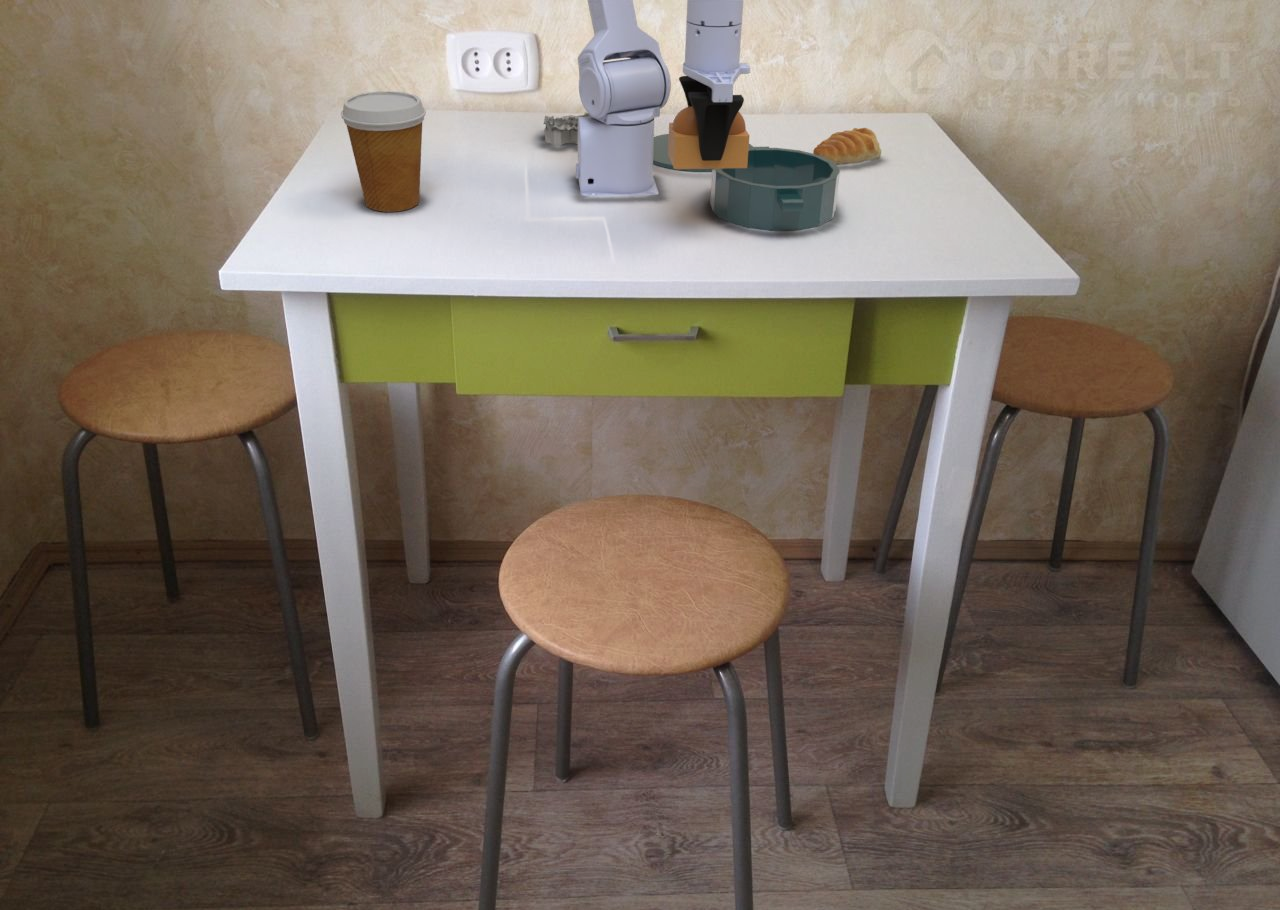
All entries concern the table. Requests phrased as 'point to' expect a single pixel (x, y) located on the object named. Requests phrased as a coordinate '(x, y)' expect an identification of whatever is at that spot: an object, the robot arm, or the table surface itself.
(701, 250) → the table surface
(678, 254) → the table surface
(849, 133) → the pastry
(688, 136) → the bread
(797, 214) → the pot
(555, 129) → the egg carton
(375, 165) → the disposable coffee cup
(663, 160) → the lid
